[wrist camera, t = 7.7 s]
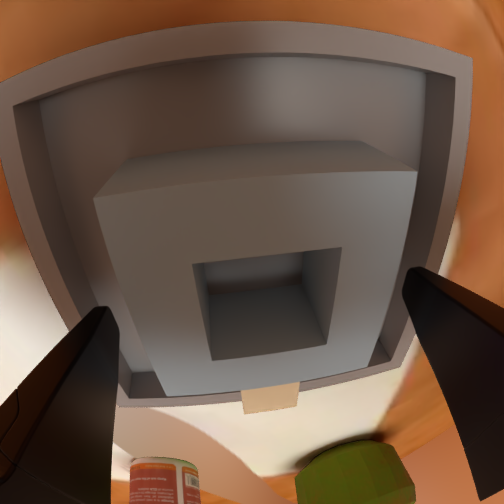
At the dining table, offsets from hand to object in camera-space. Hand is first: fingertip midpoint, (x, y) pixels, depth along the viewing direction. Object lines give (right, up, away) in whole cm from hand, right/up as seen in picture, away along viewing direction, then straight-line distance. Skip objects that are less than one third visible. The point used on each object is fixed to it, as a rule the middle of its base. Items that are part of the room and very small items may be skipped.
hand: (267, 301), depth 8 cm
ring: (0, +1, +2) cm, 3 cm away
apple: (+9, -19, +18) cm, 27 cm away
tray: (0, +2, +3) cm, 3 cm away
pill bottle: (-8, -18, +14) cm, 24 cm away
